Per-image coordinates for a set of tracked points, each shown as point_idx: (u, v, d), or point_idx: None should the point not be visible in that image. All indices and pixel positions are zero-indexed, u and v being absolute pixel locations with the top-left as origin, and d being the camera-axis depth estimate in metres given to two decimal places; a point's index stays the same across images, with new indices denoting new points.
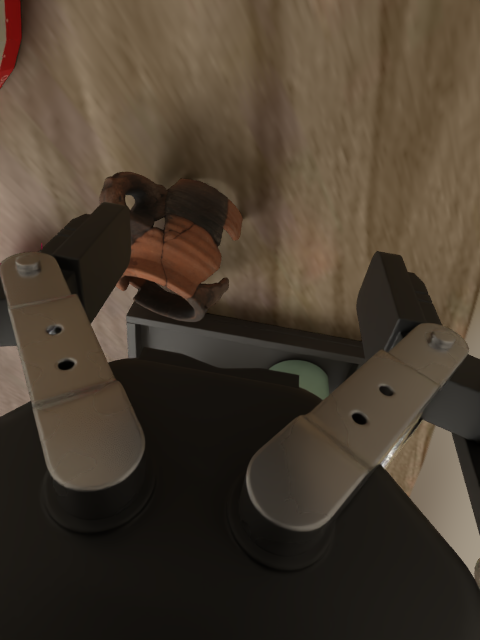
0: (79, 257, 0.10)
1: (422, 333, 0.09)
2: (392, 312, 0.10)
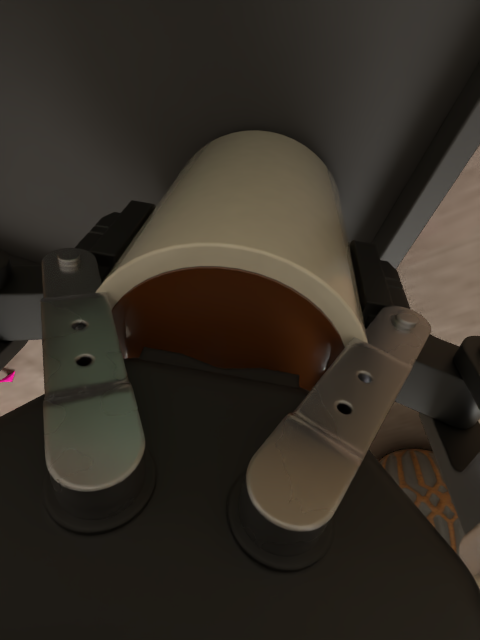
0: (115, 253, 0.10)
1: (387, 315, 0.10)
2: (362, 296, 0.11)
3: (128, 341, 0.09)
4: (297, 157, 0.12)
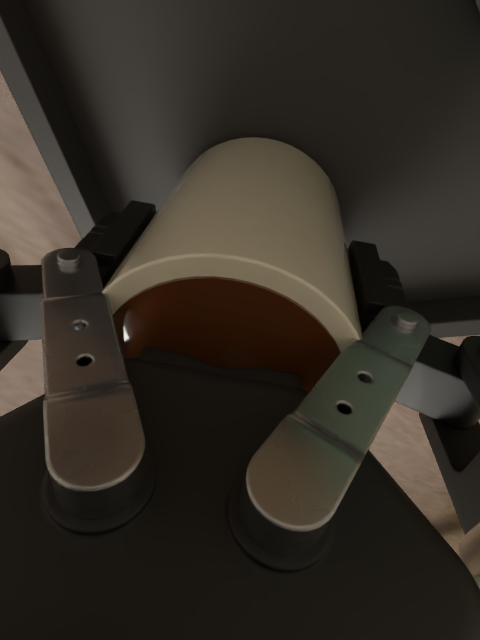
0: (115, 253, 0.10)
1: (387, 315, 0.10)
2: (362, 296, 0.11)
3: (129, 342, 0.09)
4: (305, 170, 0.12)
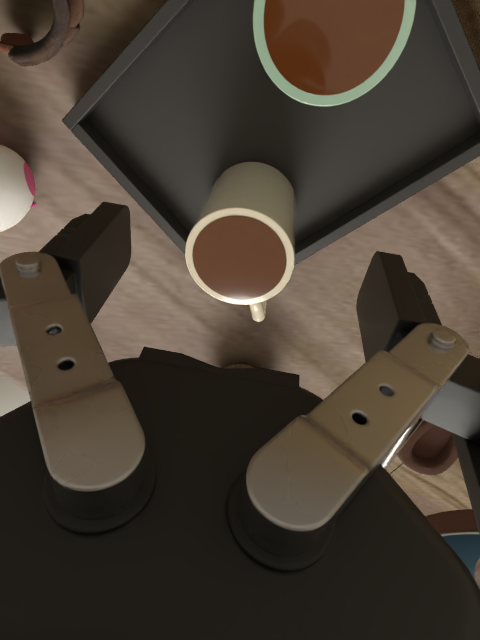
0: (79, 257, 0.10)
1: (422, 333, 0.09)
2: (392, 312, 0.10)
3: (202, 258, 0.24)
4: (255, 170, 0.27)
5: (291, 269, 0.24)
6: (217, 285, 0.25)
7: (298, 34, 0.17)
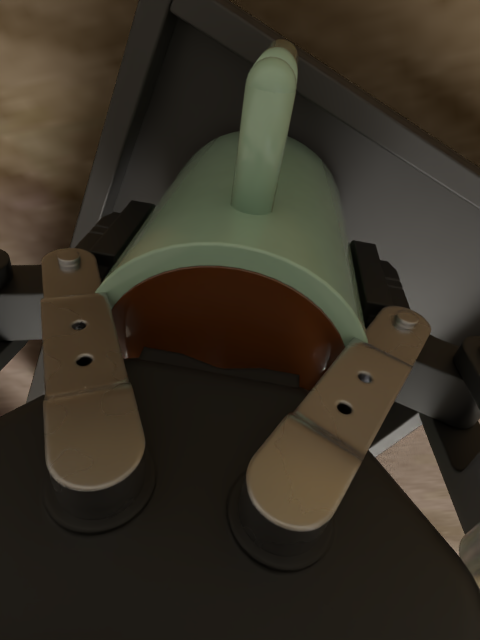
0: (115, 253, 0.10)
1: (387, 315, 0.10)
2: (362, 296, 0.11)
3: None
4: None
5: None
6: None
7: None
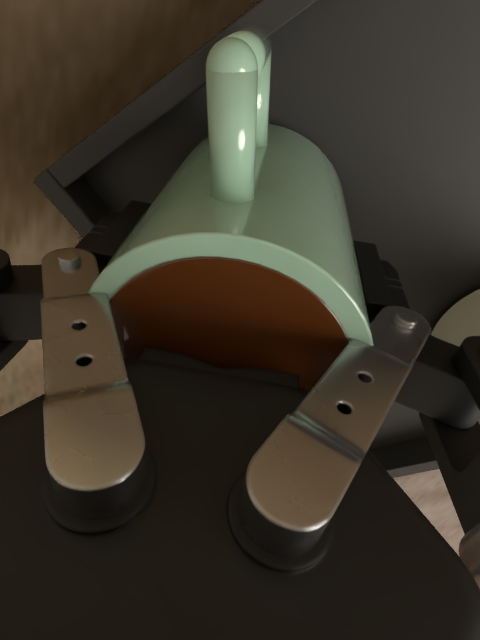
0: None
1: (387, 315, 0.10)
2: None
3: None
4: None
5: None
6: None
7: None
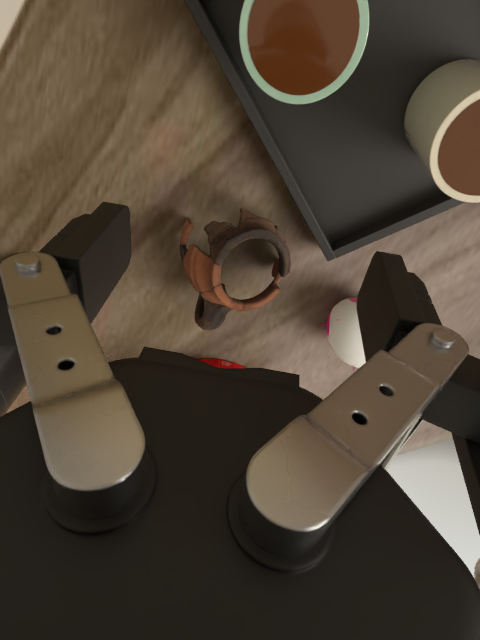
0: (79, 257, 0.10)
1: (422, 333, 0.09)
2: (392, 312, 0.10)
3: (473, 185, 0.24)
4: (414, 106, 0.27)
5: None
6: None
7: (284, 59, 0.21)
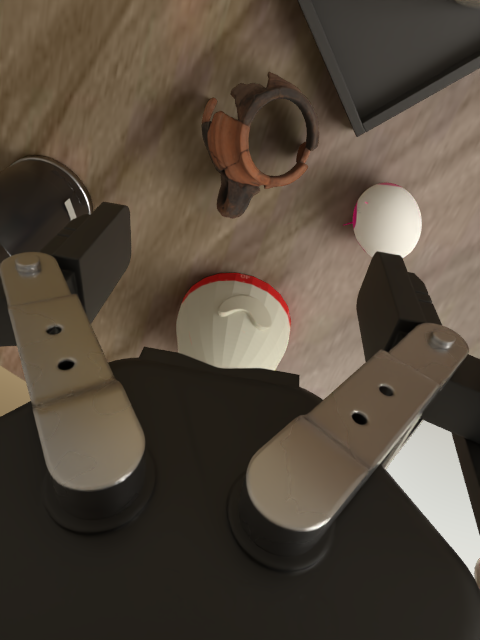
0: (79, 257, 0.10)
1: (422, 333, 0.09)
2: (392, 312, 0.10)
3: None
4: None
5: None
6: None
7: None
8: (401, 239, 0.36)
